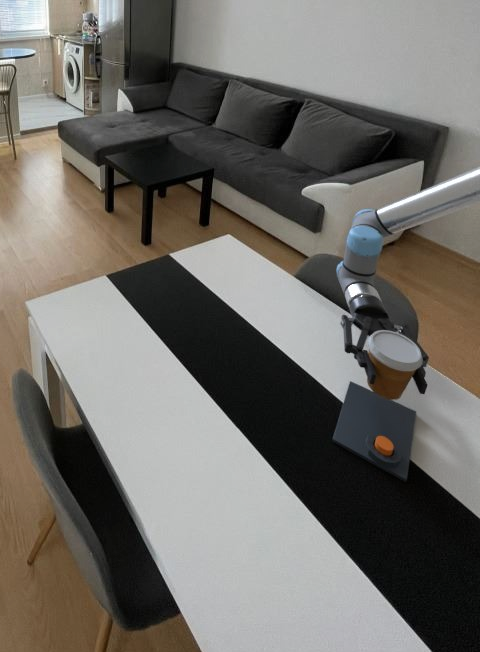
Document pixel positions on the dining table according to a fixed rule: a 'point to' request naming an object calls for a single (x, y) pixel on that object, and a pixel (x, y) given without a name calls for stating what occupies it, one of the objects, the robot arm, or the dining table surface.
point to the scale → (376, 429)
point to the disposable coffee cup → (392, 362)
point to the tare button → (384, 446)
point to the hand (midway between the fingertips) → (398, 384)
